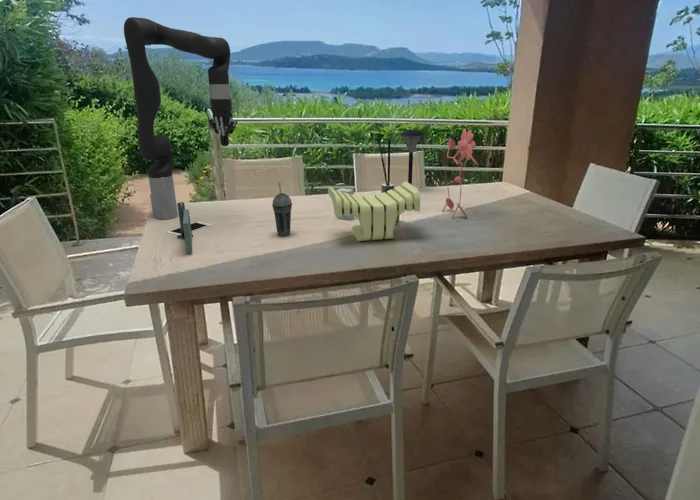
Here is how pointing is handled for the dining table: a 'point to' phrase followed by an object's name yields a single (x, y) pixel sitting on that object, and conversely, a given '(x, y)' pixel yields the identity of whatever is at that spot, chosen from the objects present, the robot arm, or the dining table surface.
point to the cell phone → (194, 227)
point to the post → (181, 219)
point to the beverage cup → (282, 213)
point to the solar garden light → (411, 147)
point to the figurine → (465, 151)
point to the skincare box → (349, 191)
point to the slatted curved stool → (376, 210)
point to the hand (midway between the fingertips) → (225, 145)
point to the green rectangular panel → (187, 230)
